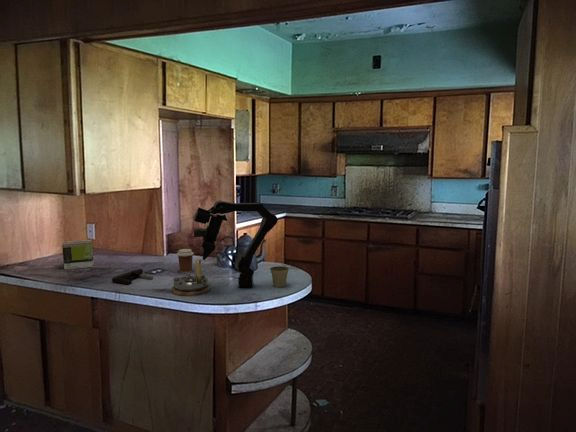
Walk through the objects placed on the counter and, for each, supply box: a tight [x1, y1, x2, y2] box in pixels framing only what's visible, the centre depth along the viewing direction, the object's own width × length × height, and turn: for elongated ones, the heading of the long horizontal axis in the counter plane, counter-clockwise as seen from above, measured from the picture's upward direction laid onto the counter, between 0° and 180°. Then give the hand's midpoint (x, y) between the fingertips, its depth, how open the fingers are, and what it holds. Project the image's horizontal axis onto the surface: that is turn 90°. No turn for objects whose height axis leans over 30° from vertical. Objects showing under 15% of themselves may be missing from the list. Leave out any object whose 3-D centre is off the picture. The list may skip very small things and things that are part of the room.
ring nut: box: [173, 259, 209, 292], centre depth 222 cm, size 16×16×14 cm
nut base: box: [171, 283, 211, 297], centre depth 224 cm, size 18×18×2 cm
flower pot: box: [269, 265, 290, 288], centre depth 230 cm, size 9×9×9 cm
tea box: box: [61, 239, 95, 270], centre depth 268 cm, size 15×10×15 cm
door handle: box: [111, 268, 154, 286], centre depth 242 cm, size 3×20×16 cm
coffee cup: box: [176, 248, 195, 274], centre depth 257 cm, size 9×9×12 cm
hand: (203, 256), depth 223 cm, fingers open, 9 cm apart
